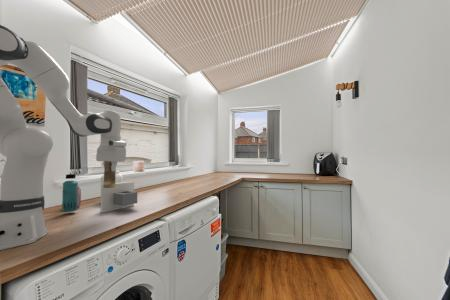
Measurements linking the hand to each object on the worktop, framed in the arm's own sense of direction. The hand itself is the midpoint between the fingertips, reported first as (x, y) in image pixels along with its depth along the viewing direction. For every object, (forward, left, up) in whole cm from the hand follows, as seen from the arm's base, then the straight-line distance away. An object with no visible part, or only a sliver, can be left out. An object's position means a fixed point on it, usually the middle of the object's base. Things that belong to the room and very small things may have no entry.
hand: (109, 170), depth 105 cm
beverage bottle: (-9, +20, -22) cm, 31 cm away
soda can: (-3, +31, -22) cm, 38 cm away
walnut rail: (0, 0, -8) cm, 8 cm away
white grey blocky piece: (+10, +4, -22) cm, 24 cm away
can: (+18, +29, -22) cm, 41 cm away
